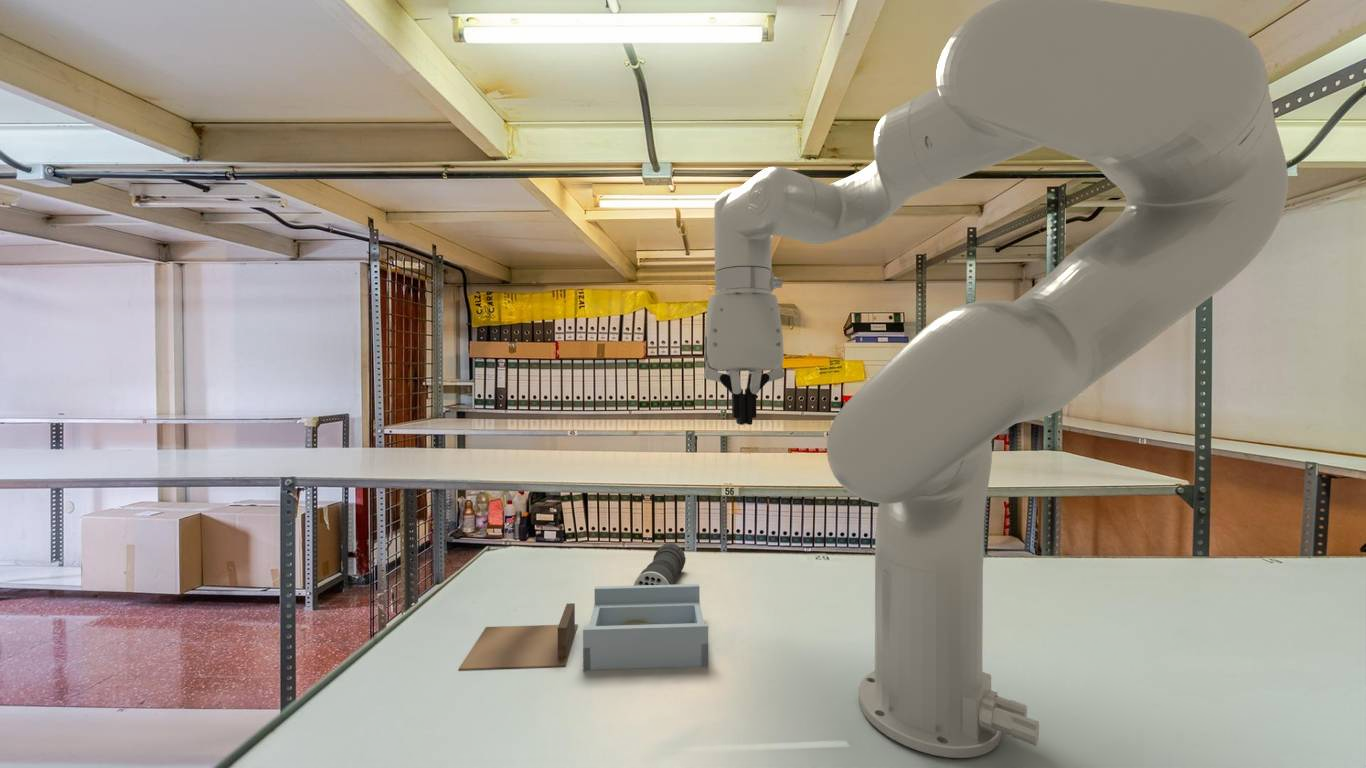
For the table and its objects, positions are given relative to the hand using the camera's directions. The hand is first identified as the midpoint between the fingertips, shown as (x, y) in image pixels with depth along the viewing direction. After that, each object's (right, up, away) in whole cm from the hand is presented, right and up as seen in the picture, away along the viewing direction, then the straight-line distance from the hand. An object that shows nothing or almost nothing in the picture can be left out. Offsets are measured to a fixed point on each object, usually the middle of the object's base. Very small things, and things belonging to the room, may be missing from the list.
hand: (744, 423), depth 69 cm
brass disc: (-14, -27, -4) cm, 30 cm away
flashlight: (-11, -27, +12) cm, 32 cm away
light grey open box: (-13, -27, -5) cm, 30 cm away
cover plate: (-28, -28, -6) cm, 40 cm away
